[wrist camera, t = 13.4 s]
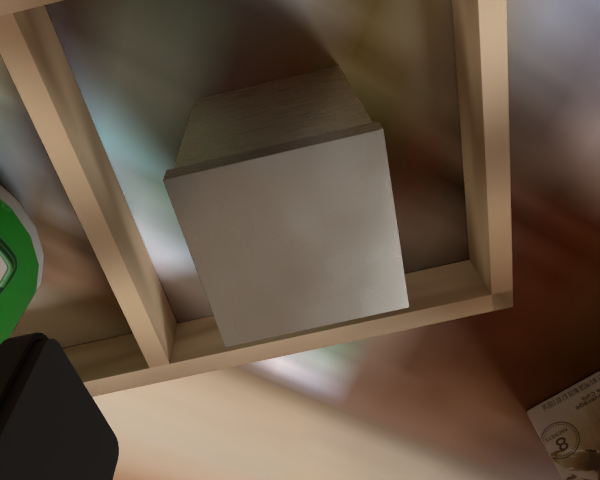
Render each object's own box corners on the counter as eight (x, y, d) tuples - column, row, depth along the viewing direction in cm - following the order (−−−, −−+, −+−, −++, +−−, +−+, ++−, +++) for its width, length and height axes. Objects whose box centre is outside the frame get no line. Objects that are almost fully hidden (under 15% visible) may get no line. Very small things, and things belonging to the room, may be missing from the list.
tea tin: (192, 96, 19) (163, 180, 13) (340, 61, 19) (383, 129, 13) (233, 226, 22) (225, 347, 15) (364, 196, 21) (409, 307, 15)
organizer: (-402, 81, 17) (-496, 104, 15) (469, -136, 16) (503, -145, 14) (-126, 404, 25) (-163, 451, 22) (489, 271, 23) (513, 306, 21)
